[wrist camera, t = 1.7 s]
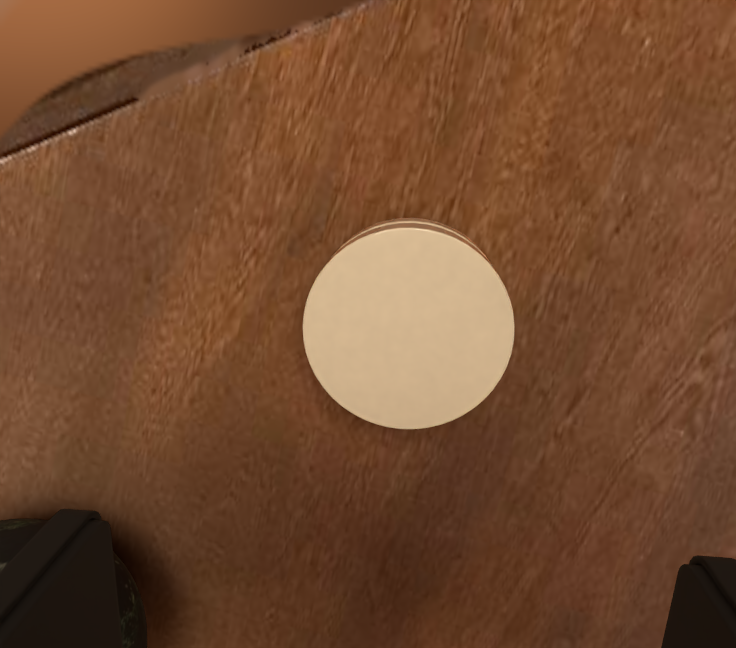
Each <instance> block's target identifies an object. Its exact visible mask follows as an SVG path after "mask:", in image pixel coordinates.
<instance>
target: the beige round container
mask: <svg viewBox="0 0 736 648" xmlns="http://www.w3.org/2000/svg"><path fill="white" fill-rule="evenodd" d="M514 330H515V325H514V314H513V309H512V305H511V301H510V298H509V296H508V293H507V290H506V288H505V286H504V284H503V282H502V280H501V279H500V277H499V275H498V273H497V272H496V270H495V269H494V267H493V265H492V264H491V262H490V260H489V259H488V258H487V256H486V255H485V254H484V252H483V251H482V250H481V249H480V248H479V247H478V246H477V245H476V244H475V243H474V242H473V241H472V240H471V239H469V238H468V237H467V236H465V235H464V234H463V233H461V232H459V231H457V230H456V229H454V228H452V227H450V226H447V225H445V224H442V223H440V222H436V221H432V220H428V219H421V218H398V219H391V220H386V221H383V222H379V223H376V224H374V225H371V226H369V227H367V228H364V229H363V230H361V231H359V232H358V233H356V234H354V235H353V236H352V237H351V238H349V239H348V240H347V241H345V242H344V243H343V244H342V245H341V246H340V247H339V248H338V250H337V251H336V252H335V253H334V254H333V256H332V257H331V258H330V260H329V261H328V262H327V264H326V265H325V267H324V268H323V269H322V271H321V272H320V273H319V275H318V276H317V278H316V280H315V282H314V284H313V285H312V287H311V290H310V292H309V295H308V298H307V301H306V305H305V310H304V315H303V341H304V346H305V351H306V354H307V357H308V360H309V363H310V366H311V368H312V370H313V372H314V374H315V376H316V378H317V379H318V381H319V382H320V384H321V385H322V387H323V388H324V389H325V390H326V391H327V393H328V394H329V395H330V396H331V397H332V398H333V399H334V400H335V401H336V402H337V403H339V404H340V405H341V406H342V407H344V408H345V409H346V410H348V411H349V412H351V413H352V414H354V415H356V416H358V417H360V418H362V419H364V420H366V421H369V422H371V423H374V424H377V425H381V426H385V427H390V428H397V429H421V428H429V427H433V426H437V425H441V424H444V423H447V422H450V421H452V420H454V419H456V418H458V417H460V416H462V415H464V414H466V413H467V412H469V411H470V410H472V409H473V408H475V407H476V406H477V405H478V404H479V403H481V402H482V401H483V400H484V399H485V398H486V397H487V396H488V395H489V394H490V393H491V391H492V390H493V389H494V388H495V386H496V385H497V383H498V382H499V380H500V379H501V377H502V375H503V373H504V371H505V369H506V367H507V365H508V362H509V359H510V356H511V353H512V348H513V343H514Z"/></svg>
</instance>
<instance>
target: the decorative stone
mask: <svg viewBox="0 0 736 648" xmlns="http://www.w3.org/2000/svg"><path fill="white" fill-rule="evenodd" d="M48 521H49V520H41V519H9V520H1V521H0V571H1V570H2V569H3V568H4V567H5V566H6V565H7V564H8V563H9V562H10V561H11V560H12V559H13V558H14V557H15V556H16V554H17V553H18V552H19V551H20V550H21V549H22V548H23V547H24V546H25V545H26V544H27V543H28V542H29V541H30V540H31V539H32V538H33V537H34V536H35V535H36V534H37V533H38V532H39V531H40V529H41V528H42V527H43V526H44V525H45V524H46V523H47V522H48ZM113 556H114V566H115V576H116V586H117V595H118V605H119V615H120V625H121V635H122V644H123V648H147V624H146V617H145V611H144V606H143V602H142V599H141V596H140V593H139V590H138V588H137V586H136V584H135V581H134V579H133V577H132V575H131V574H130V572H129V571H128V569H127V568H126V566H125V565H124V564H123V562H122V561H121V560H120V559H119V557H118V556H117V555H116V554H115V553H114V552H113Z"/></svg>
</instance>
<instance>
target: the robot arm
mask: <svg viewBox="0 0 736 648" xmlns="http://www.w3.org/2000/svg"><path fill="white" fill-rule="evenodd" d="M0 648H123V644H122V635H121V625H120V615H119V605H118V595H117V586H116V576H115V566H114V556H113V546H112V536H111V528H110V524H109V523H108V522H107V521H102V519H101V516H100V514H99V513H98V512H96V511H87V510H74V509H62V510H60V511H58V512H57V513H56V514H55V515H54V516H53V517H52V518H51V519H50V520H49V521H48V522H47V523H46V524H45V525H44V526H43V527H42V528H41V529H40V531H39V532H38V533H37V534H36V535H35V536H34V537H33V538H32V539H31V540H30V541H29V542H28V543H27V544H26V545H25V546H24V547H23V548H22V549H21V550H20V551H19V552H18V553H17V554H16V556H15V557H14V558H13V559H12V560H11V561H10V562H9V563H8V564H7V565H6V566H5V567H4V568H3V569H2V570H1V571H0ZM661 648H736V560H735V559H733V558H723V557H709V556H694V557H693V558H692V559H691V560H690V563H689V565H688V564H684V565H682V566H681V567H680V568H679V571H678V575H677V580H676V584H675V589H674V593H673V598H672V602H671V607H670V611H669V616H668V620H667V625H666V629H665V634H664V638H663V643H662V647H661Z"/></svg>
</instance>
